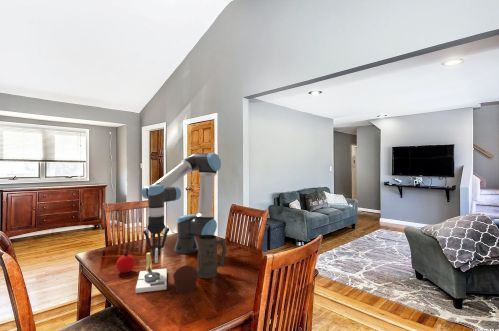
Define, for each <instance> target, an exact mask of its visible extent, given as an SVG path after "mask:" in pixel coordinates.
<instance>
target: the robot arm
mask: <svg viewBox="0 0 499 331" xmlns="http://www.w3.org/2000/svg"><path fill="white" fill-rule="evenodd" d="M221 167H222V162H221V159H220V156H219V155H218V154H217V153H215V152H196V153H193V154H190V155H189V156H187V157H185V158H184V159H182V160H181V161H179V164H178V165H176V167H173V169H171V170H170V171H169V172H167V173H166V174H164V175H163V176H162V177H161V178H159V179H158V180H157V181H155V183H153V184H151V185H145V186H144V187H143V188H142V189H141V196H142V198H143V199H146V200H148V202H147V203H148V207H147V209H148V210H147V211H148V212H147V213H148V218H147V219H148V223H147V227H146V228H145V229H142V233H143V235H144V236H145V239H146V243H147V246H148V250H151V251H152V257H154V263H155V264H157V263H158V262H159V256H160V255H161V249H163V248H164V247H165V245H166V244H165V243H166V239H167V235H168V233H169V232H170V228H169V227H167V226H166V225H165V216H164V214H165V203H168V202H175V201H178V200H179V199H180V198H181V197H182V191H181V189H180V187H178V186H175V184H176V183H177V182H179V181H180V180H181V179H182V178H183V177H185V176H186V175H187V174H191V173H192V172H197V171H198V174H199V175H200V180H199V182H200V183H199V195H198V196H199V197H198V211H197V213H196V214H194V213H193V214H185V215H180V216H178V218H177V223H176V224H177V225H176V226H177V238H176V239H177V240H176V242H175V245H174V253H176V254H181V255H182V254H185V255H186V254H193V253H195V252H198V240H197V238H196V237H199V236H201V235H214V236H215V233H216V232H217V228H218V227H217V226H218V222H217V220H216V219H214V218H215V216H214V215H213V213H212V211H213V197H214V184H215V183H214V182H215V177H216V175H217V174H218V173H217V172H218V171H219V170H221ZM163 231H164V232H163ZM149 232H150V234H151V237H152V238H151V240H152V244H151V240H150V238H149V234H148V233H149ZM162 232H163V236H162V240H161V234H162ZM156 235H157V237H156ZM156 238H157V240H156ZM156 242H157V244H156ZM156 246H157V247H156Z"/></svg>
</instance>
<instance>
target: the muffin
mask: <svg viewBox="0 0 499 331" xmlns="http://www.w3.org/2000/svg"><path fill="white" fill-rule="evenodd" d="M172 276H173V282H174V287H175V291H176V292H177V293H178V294H183V295H184V294H190V293H192V292H194V291H195V289H197V283H198V282H197V281H198V278H199V277H198V272H197V268H194V267H193V266H191V265H183V266H179V268H178V269H176V271H175V272H174V273H173V275H172Z"/></svg>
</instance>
